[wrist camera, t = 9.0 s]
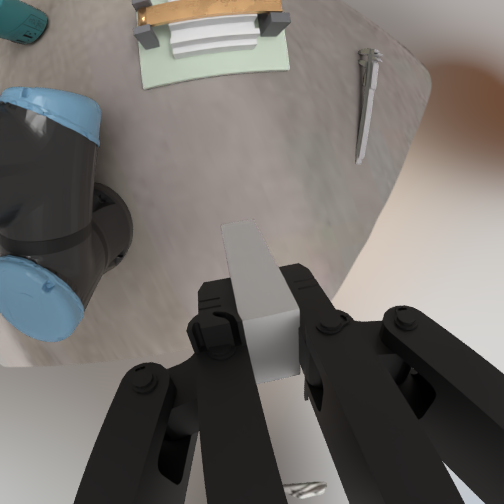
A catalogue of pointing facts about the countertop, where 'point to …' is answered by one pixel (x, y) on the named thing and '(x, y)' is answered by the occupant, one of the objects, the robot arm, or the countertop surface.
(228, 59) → the processor board
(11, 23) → the beverage bottle
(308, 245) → the countertop surface
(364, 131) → the caliper
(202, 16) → the bar
